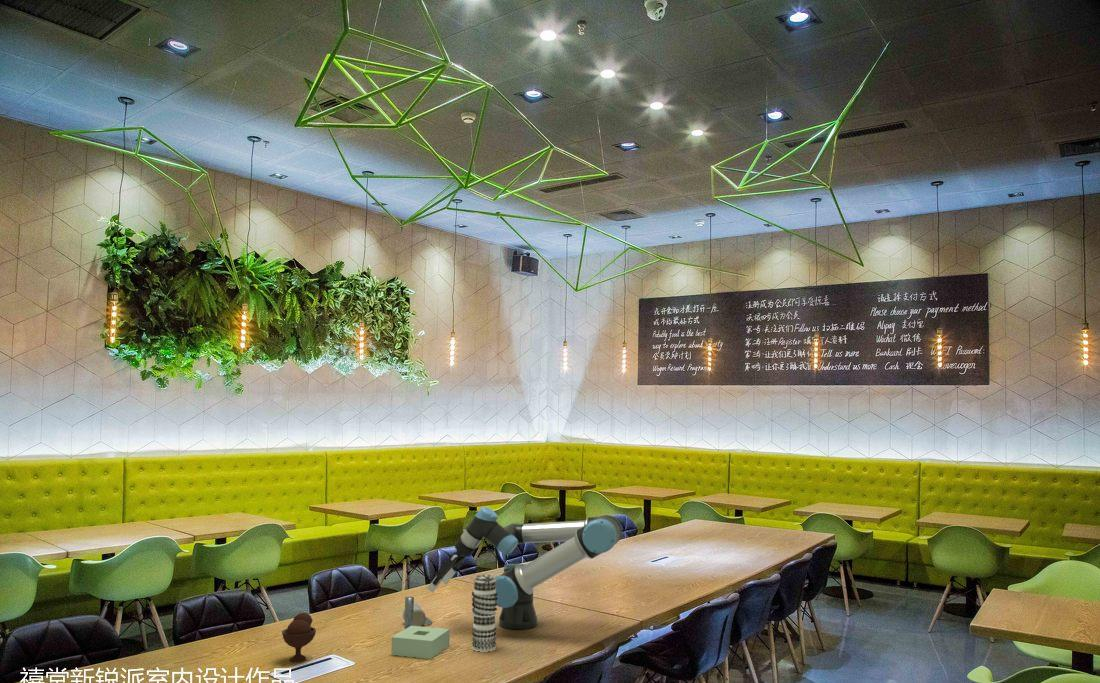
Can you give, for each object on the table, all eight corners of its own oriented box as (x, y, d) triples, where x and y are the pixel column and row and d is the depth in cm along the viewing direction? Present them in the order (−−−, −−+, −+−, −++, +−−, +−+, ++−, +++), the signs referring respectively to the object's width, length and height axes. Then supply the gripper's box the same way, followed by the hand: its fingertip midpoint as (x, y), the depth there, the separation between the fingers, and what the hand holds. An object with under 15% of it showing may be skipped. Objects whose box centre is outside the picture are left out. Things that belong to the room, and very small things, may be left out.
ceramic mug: (407, 629, 295) (408, 609, 296) (402, 624, 302) (403, 604, 303) (434, 627, 299) (435, 606, 300) (428, 621, 307) (429, 602, 307)
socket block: (449, 646, 274) (449, 629, 275) (431, 659, 260) (432, 641, 260) (410, 642, 278) (411, 625, 279) (391, 655, 264) (391, 637, 264)
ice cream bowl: (284, 655, 263) (286, 609, 264) (318, 654, 264) (319, 609, 265) (276, 665, 253) (278, 618, 254) (311, 664, 253) (313, 617, 255)
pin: (414, 635, 286) (415, 596, 287) (410, 638, 283) (411, 598, 284) (406, 634, 286) (407, 596, 288) (402, 637, 283) (403, 598, 285)
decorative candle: (486, 654, 266) (487, 579, 268) (465, 649, 271) (466, 576, 273) (502, 647, 274) (503, 575, 276) (481, 643, 279) (482, 572, 281)
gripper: (471, 531, 311) (442, 573, 313) (448, 542, 287) (416, 587, 289) (486, 543, 309) (456, 585, 311) (463, 555, 285) (431, 600, 287)
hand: (437, 586), depth 300 cm, fingers open, 13 cm apart
